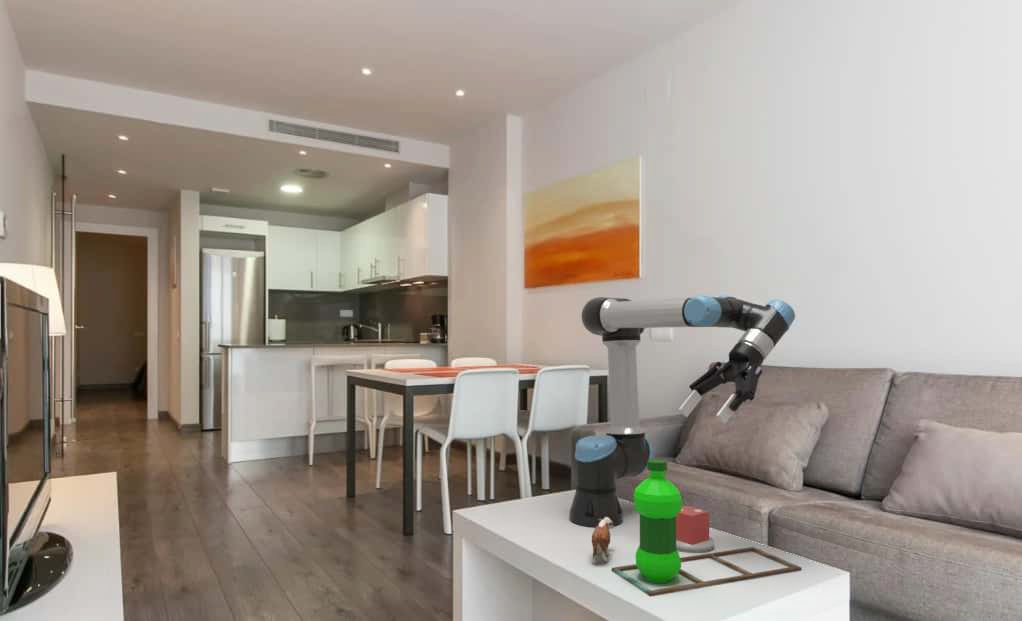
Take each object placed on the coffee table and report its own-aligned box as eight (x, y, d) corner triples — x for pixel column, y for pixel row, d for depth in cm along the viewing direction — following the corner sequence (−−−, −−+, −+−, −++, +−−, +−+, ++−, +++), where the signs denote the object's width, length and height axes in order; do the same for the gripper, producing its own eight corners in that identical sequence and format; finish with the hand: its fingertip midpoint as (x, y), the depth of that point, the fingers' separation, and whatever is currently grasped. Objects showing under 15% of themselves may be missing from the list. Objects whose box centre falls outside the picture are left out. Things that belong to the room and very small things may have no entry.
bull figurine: (616, 549, 153) (616, 515, 153) (606, 568, 140) (606, 531, 140) (598, 547, 154) (598, 514, 154) (587, 565, 141) (587, 529, 142)
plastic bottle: (635, 585, 129) (634, 465, 131) (633, 568, 140) (633, 456, 141) (684, 589, 128) (683, 466, 129) (679, 570, 138) (678, 457, 139)
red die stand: (654, 543, 157) (654, 508, 158) (684, 534, 164) (684, 501, 165) (694, 556, 148) (693, 519, 148) (724, 546, 155) (723, 511, 155)
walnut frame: (611, 570, 138) (611, 567, 138) (752, 549, 153) (752, 546, 153) (650, 596, 124) (650, 593, 124) (801, 570, 139) (801, 567, 139)
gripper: (799, 364, 140) (748, 434, 134) (724, 361, 163) (677, 421, 157) (781, 340, 139) (728, 410, 132) (707, 341, 162) (659, 400, 156)
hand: (700, 416), depth 145 cm, fingers open, 13 cm apart
